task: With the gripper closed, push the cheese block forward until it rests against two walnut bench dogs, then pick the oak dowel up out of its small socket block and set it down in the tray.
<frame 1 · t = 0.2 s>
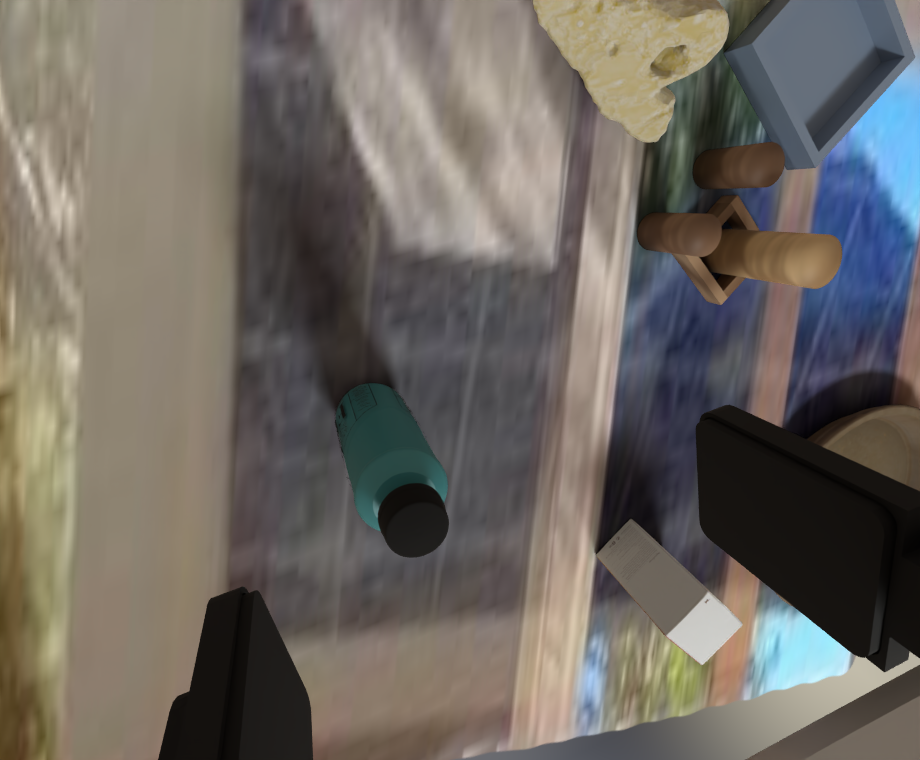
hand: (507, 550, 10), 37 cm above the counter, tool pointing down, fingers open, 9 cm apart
small box: (628, 550, 64), on the counter
plant saucer: (830, 497, 73), on the counter
bench dogs: (680, 200, 51), on the counter
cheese: (583, 67, 44), on the counter
tray: (806, 59, 50), on the counter
dowel socket: (714, 250, 54), on the counter
dowel: (761, 255, 48), in the dowel socket
beverage bottle: (369, 407, 48), on the counter
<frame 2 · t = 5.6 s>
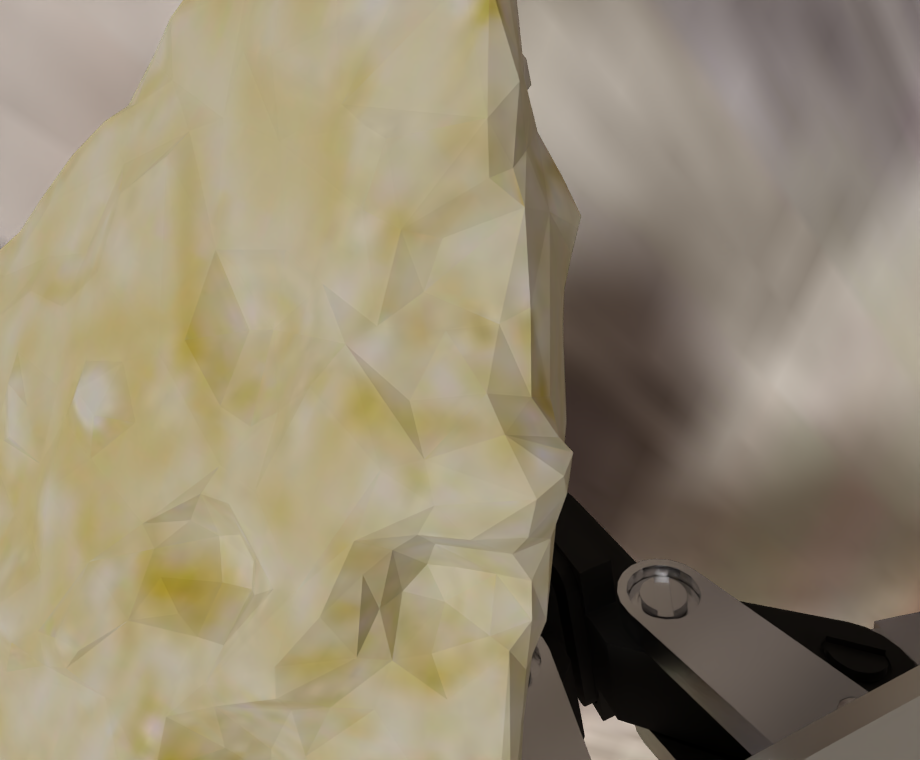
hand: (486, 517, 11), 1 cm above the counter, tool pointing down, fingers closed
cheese: (126, 471, 10), on the counter, touching gripper
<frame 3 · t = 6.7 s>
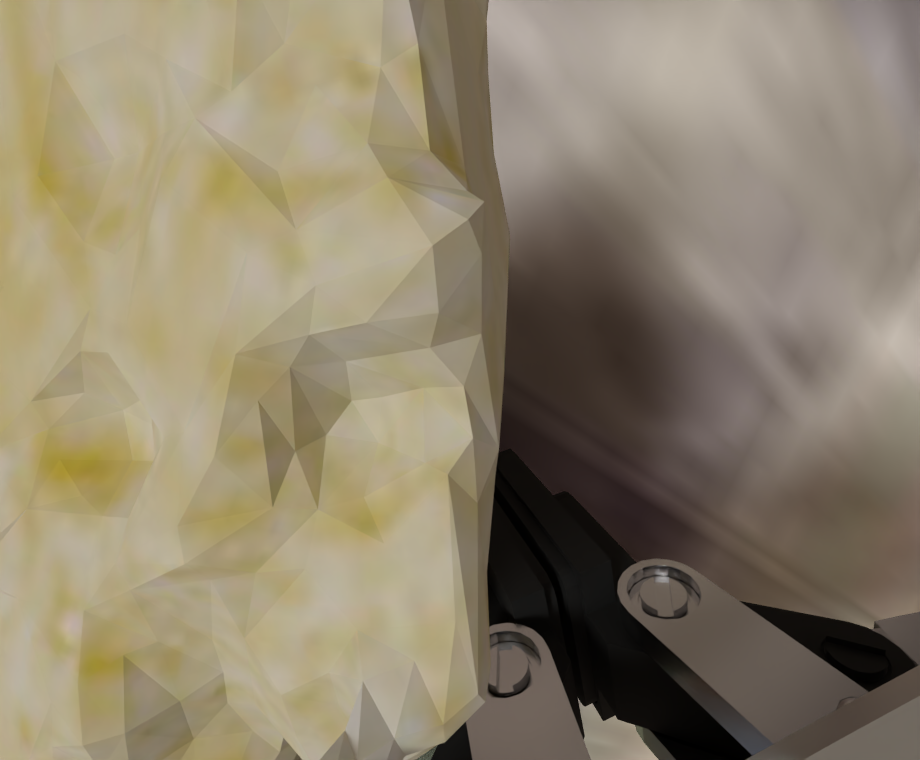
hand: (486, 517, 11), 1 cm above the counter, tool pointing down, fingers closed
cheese: (118, 442, 10), on the counter
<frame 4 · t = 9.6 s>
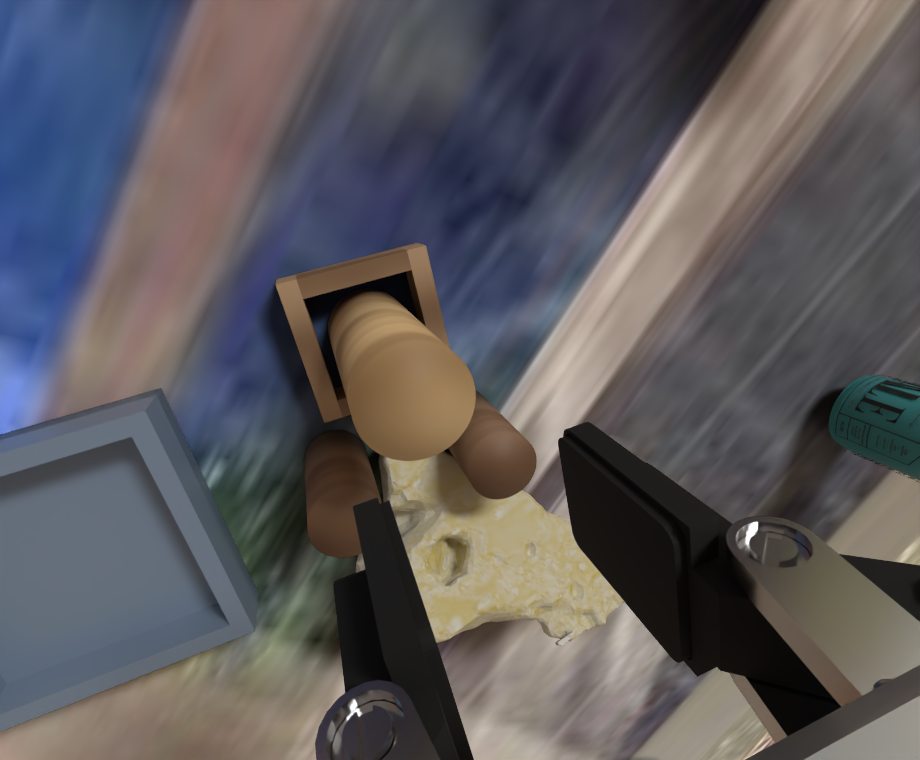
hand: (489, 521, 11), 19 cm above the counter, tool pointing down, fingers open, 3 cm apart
bench dogs: (400, 436, 31), on the counter
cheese: (477, 500, 35), on the counter
tray: (79, 544, 28), on the counter
dowel socket: (368, 328, 29), on the counter
dowel: (386, 357, 23), in the dowel socket
beverage bottle: (837, 402, 42), on the counter
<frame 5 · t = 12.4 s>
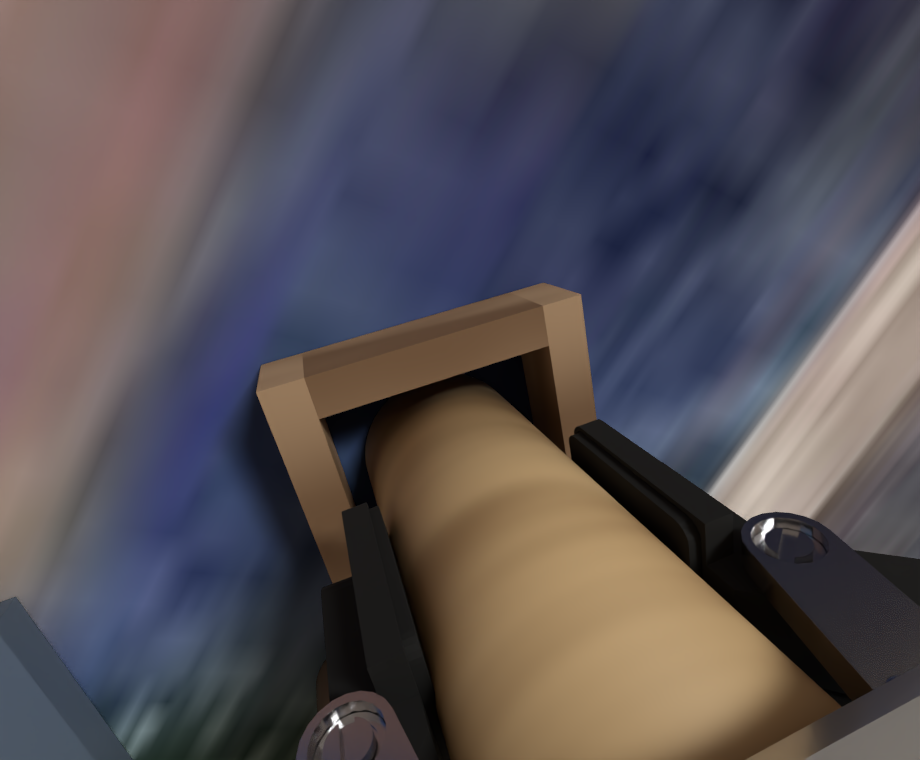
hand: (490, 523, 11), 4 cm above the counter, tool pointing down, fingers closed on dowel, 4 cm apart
bench dogs: (489, 625, 17), on the counter
dowel socket: (443, 447, 15), on the counter
dowel: (531, 589, 9), in the dowel socket, touching gripper
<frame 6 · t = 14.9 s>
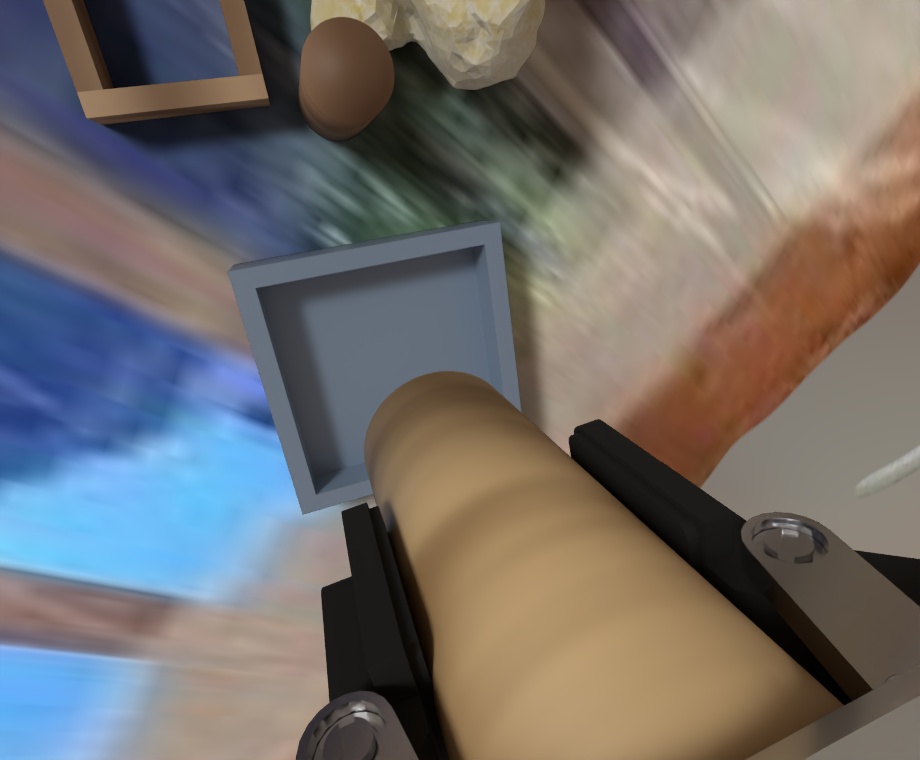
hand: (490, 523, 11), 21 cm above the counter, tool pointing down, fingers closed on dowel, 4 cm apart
bench dogs: (315, 11, 25), on the counter
tray: (388, 357, 32), on the counter
dowel socket: (160, 22, 23), on the counter
dowel: (530, 586, 9), point 23 cm above the counter, touching gripper
when the fingers open (6 cm above the counter, at t = 17.8 s): dowel drops 1 cm, resting on tray.
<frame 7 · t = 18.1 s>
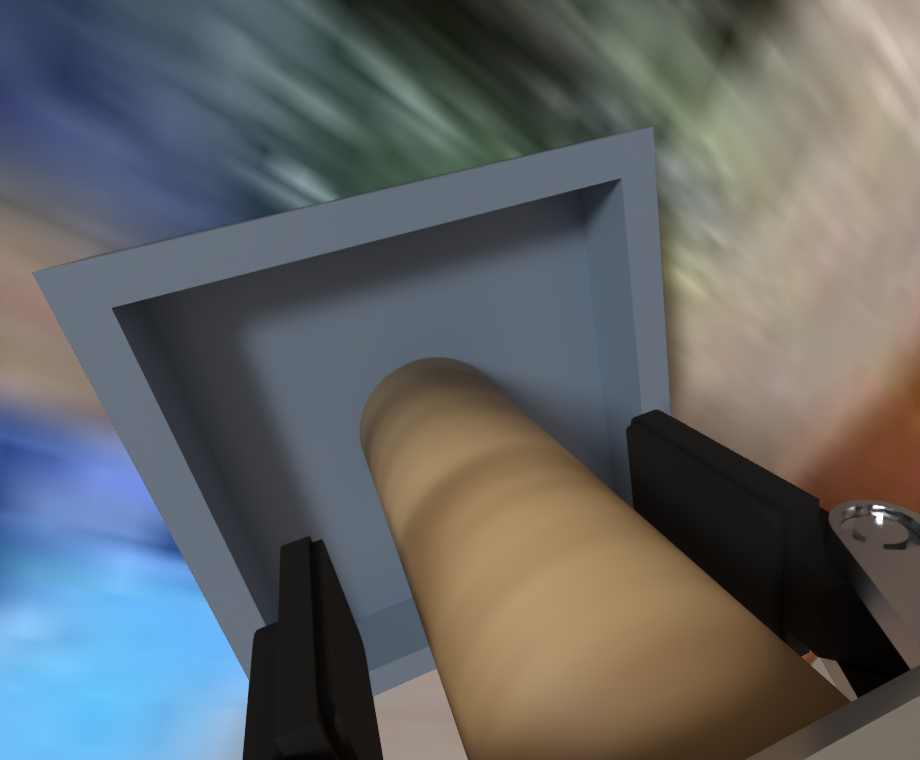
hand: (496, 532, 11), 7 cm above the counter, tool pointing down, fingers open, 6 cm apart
tray: (422, 415, 17), on the counter
dowel: (510, 543, 11), in the tray, point 7 cm above the counter
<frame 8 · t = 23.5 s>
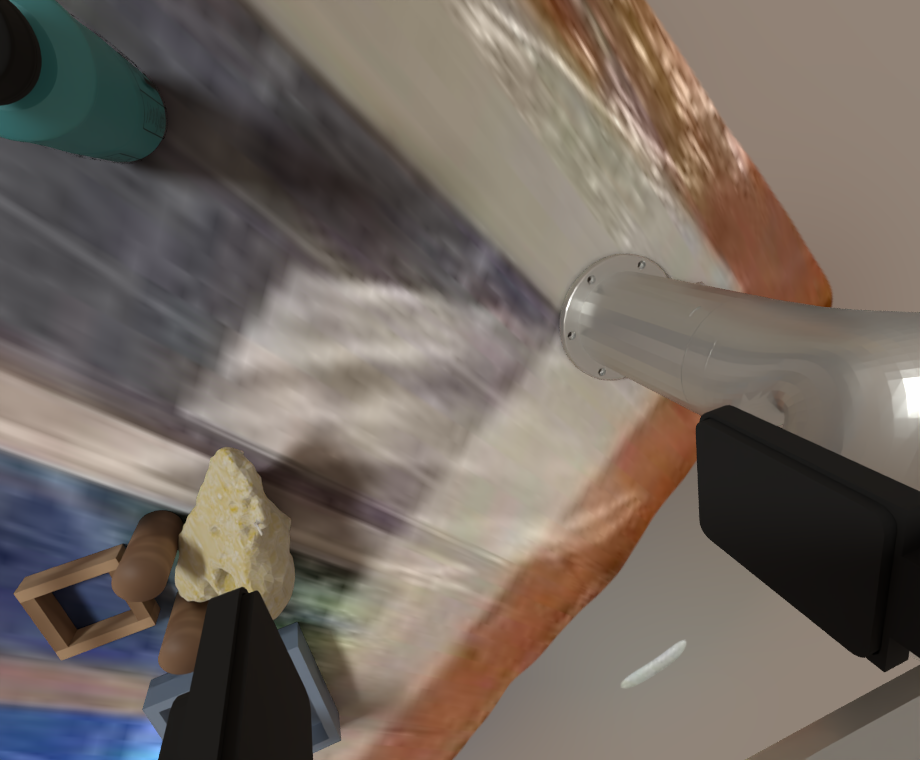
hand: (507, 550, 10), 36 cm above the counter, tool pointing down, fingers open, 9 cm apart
bench dogs: (179, 563, 46), on the counter
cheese: (231, 501, 46), on the counter
tray: (252, 697, 53), on the counter
dowel socket: (96, 593, 45), on the counter
beverage bottle: (121, 116, 35), on the counter
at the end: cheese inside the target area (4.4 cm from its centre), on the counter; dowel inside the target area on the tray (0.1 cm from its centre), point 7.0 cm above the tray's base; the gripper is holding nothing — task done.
